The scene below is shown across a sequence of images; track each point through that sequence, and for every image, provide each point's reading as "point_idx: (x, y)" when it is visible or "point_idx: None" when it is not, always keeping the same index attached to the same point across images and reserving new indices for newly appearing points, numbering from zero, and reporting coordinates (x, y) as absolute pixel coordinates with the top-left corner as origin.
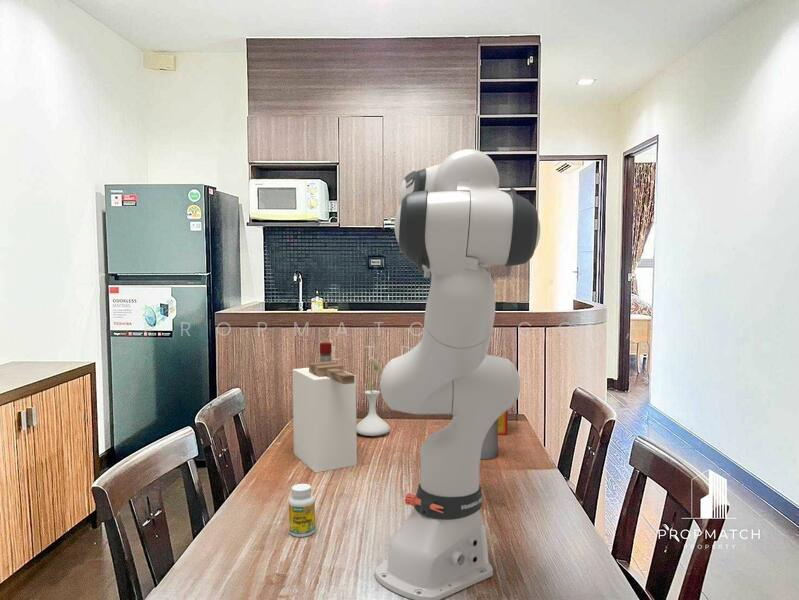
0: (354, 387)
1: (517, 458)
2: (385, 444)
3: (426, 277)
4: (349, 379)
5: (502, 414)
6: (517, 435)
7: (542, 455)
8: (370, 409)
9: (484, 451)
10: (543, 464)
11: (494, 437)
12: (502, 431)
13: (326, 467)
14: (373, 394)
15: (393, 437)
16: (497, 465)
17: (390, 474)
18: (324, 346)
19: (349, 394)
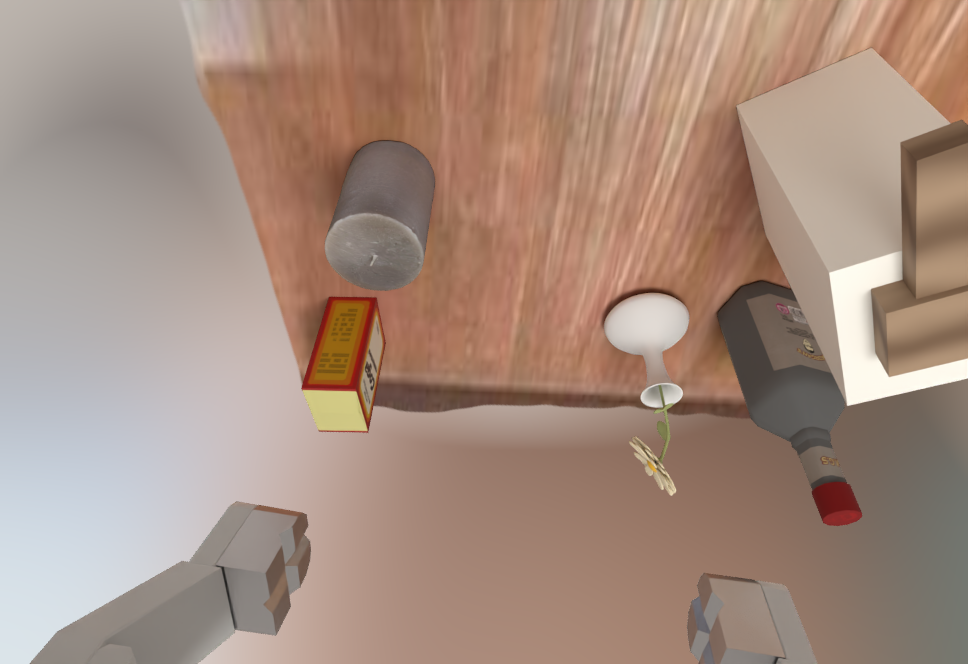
0: (819, 241)
1: (298, 148)
2: (626, 250)
3: (744, 579)
4: (936, 142)
5: (330, 333)
6: (305, 295)
7: (235, 168)
8: (660, 356)
9: (381, 151)
10: (226, 102)
11: (348, 181)
12: (338, 303)
13: (837, 67)
14: (661, 382)
15: (598, 292)
16: (349, 97)
17: (656, 30)
18: (848, 503)
19: (833, 219)
